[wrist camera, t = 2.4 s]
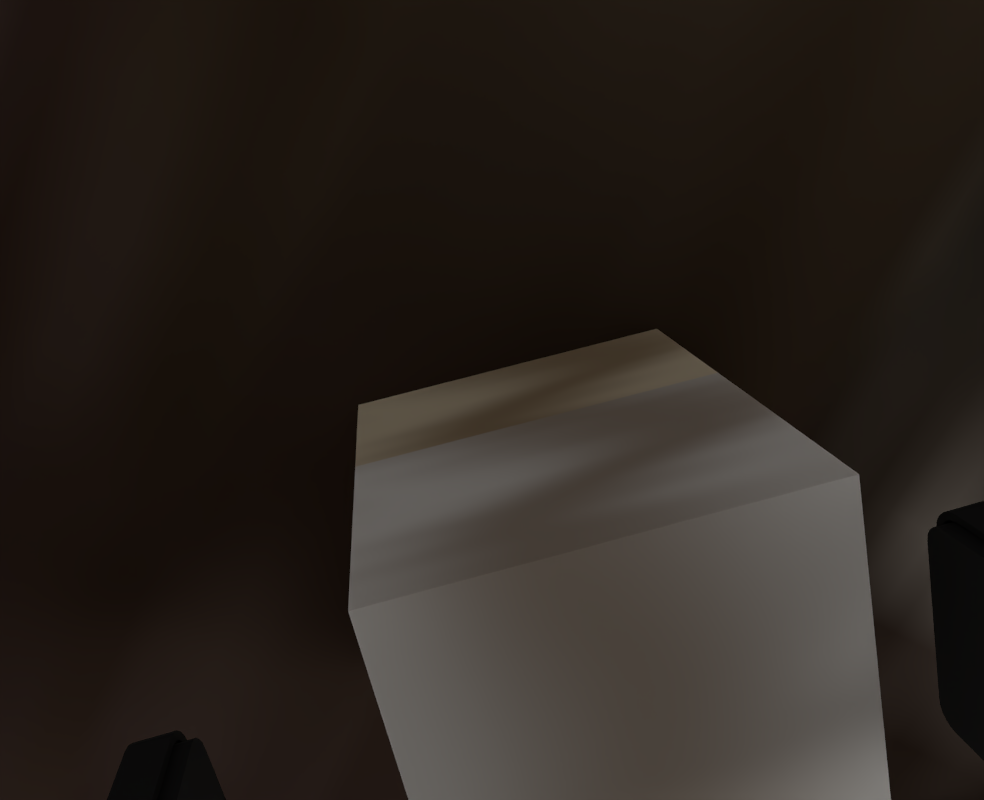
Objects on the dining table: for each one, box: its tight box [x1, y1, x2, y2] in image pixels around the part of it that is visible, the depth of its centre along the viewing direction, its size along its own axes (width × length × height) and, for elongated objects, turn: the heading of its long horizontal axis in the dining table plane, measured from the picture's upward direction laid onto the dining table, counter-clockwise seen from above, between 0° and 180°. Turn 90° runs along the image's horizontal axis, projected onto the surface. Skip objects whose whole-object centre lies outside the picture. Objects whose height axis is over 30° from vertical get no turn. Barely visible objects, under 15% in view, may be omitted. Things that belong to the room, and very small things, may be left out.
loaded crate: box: [348, 329, 891, 800], centre depth 13 cm, size 6×6×7 cm
